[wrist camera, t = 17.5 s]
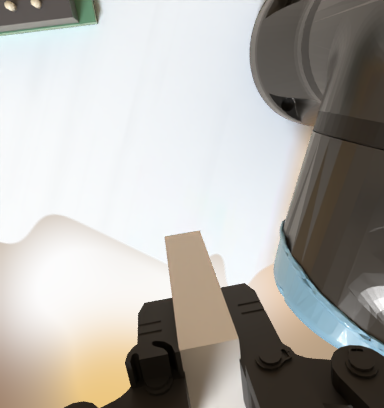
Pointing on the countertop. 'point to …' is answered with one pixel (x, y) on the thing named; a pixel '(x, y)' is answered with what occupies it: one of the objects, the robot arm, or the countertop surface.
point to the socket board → (44, 15)
